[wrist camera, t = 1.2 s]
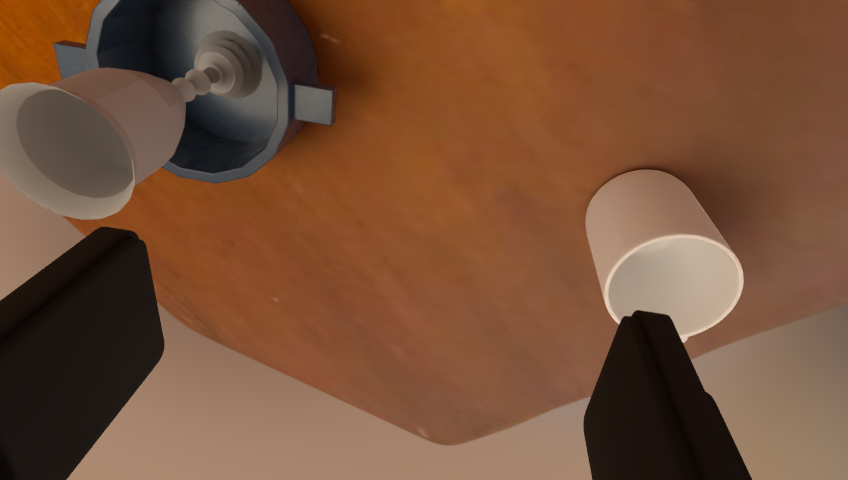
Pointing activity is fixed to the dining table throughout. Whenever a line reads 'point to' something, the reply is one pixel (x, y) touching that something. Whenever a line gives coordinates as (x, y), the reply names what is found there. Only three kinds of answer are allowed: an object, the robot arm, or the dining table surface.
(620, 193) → the mug
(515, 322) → the dining table surface
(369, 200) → the dining table surface
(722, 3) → the dining table surface
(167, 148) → the chalice
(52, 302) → the robot arm
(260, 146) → the pot
